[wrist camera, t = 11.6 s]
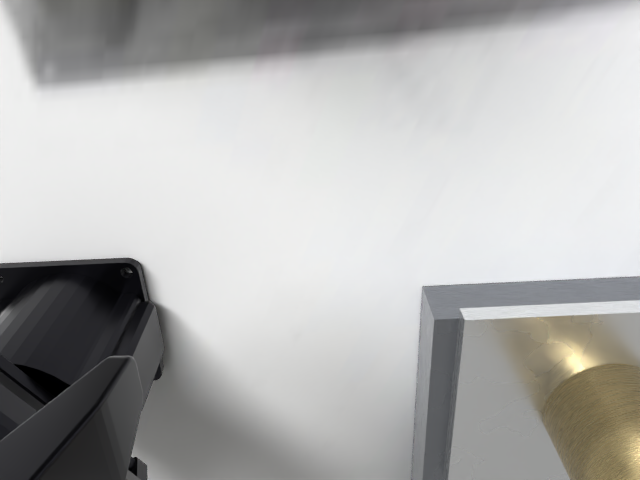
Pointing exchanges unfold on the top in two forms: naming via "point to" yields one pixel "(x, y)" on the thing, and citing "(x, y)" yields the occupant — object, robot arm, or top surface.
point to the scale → (510, 370)
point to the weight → (597, 423)
